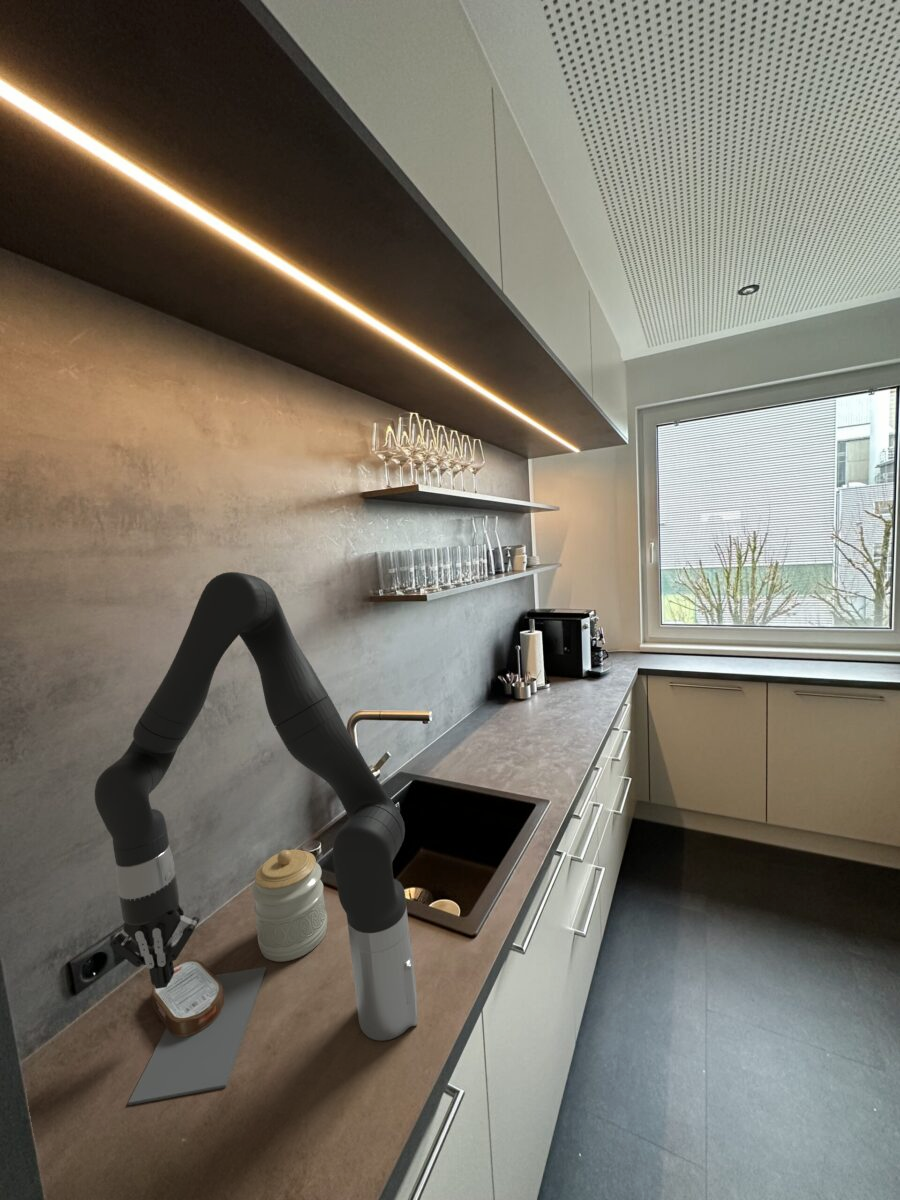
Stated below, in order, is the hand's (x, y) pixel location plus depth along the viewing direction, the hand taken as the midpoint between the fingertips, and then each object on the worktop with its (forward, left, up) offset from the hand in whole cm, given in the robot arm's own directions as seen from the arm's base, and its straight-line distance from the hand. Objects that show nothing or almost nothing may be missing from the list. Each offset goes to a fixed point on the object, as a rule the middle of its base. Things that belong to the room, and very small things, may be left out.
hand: (163, 983), depth 77 cm
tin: (+2, -1, -6) cm, 6 cm away
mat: (-6, +1, -8) cm, 10 cm away
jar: (-16, -16, -8) cm, 24 cm away
